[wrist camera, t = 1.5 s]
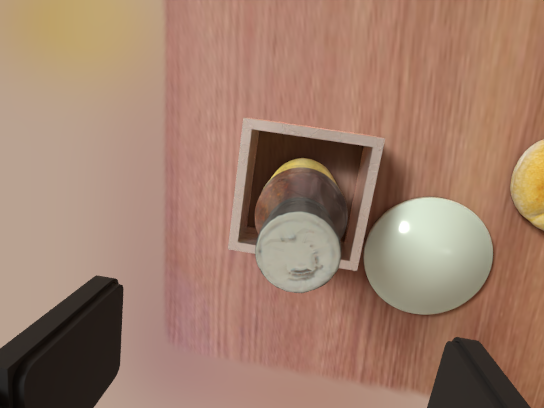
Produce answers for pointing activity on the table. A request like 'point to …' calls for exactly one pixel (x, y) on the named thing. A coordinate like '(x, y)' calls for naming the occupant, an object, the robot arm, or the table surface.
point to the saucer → (427, 255)
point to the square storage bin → (372, 150)
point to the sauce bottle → (300, 226)
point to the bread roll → (530, 184)
